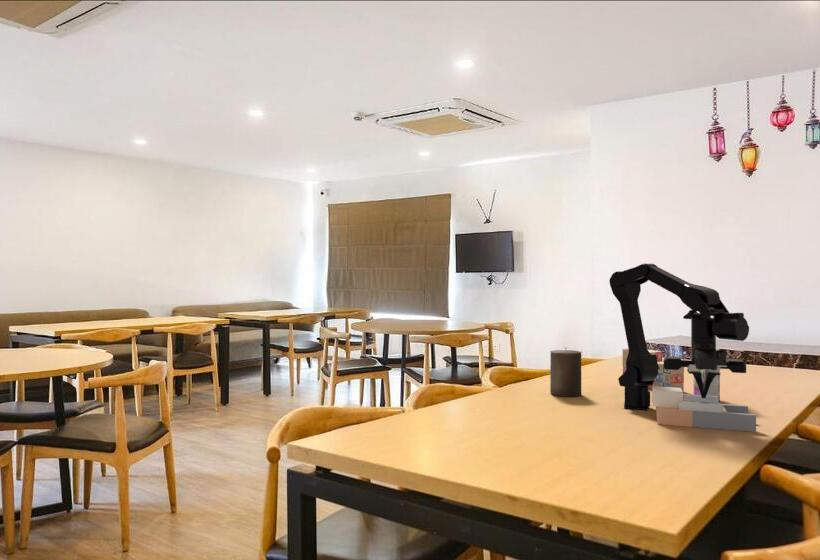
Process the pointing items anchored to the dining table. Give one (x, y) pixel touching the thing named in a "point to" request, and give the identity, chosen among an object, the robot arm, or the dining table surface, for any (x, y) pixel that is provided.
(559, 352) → the pillar candle
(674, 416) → the grey piece
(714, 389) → the candy bar box
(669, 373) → the stack of blocks
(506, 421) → the dining table surface
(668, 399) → the cream block
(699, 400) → the channel walls
